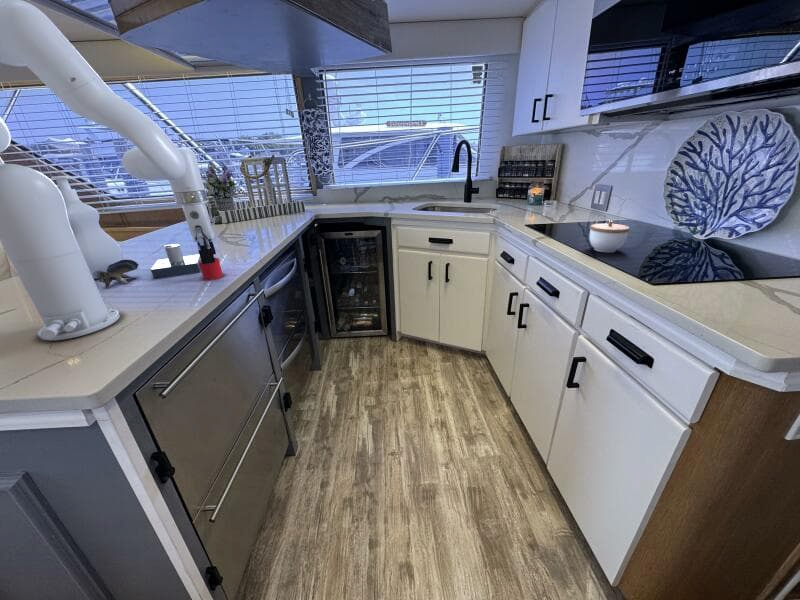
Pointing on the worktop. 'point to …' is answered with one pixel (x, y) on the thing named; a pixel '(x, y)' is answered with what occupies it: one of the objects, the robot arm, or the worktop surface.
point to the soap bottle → (88, 230)
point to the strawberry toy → (211, 270)
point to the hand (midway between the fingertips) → (209, 258)
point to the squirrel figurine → (116, 272)
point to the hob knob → (174, 253)
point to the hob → (176, 267)
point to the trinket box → (608, 236)
